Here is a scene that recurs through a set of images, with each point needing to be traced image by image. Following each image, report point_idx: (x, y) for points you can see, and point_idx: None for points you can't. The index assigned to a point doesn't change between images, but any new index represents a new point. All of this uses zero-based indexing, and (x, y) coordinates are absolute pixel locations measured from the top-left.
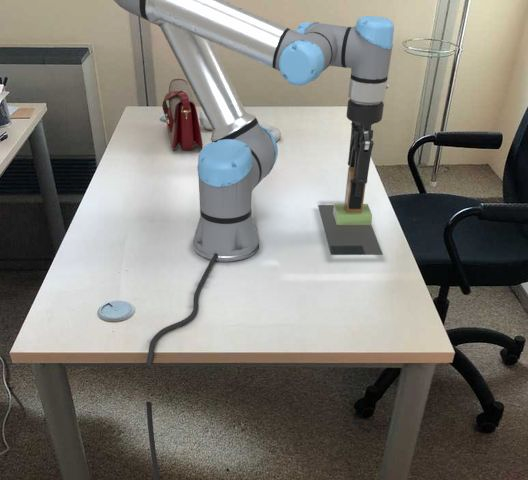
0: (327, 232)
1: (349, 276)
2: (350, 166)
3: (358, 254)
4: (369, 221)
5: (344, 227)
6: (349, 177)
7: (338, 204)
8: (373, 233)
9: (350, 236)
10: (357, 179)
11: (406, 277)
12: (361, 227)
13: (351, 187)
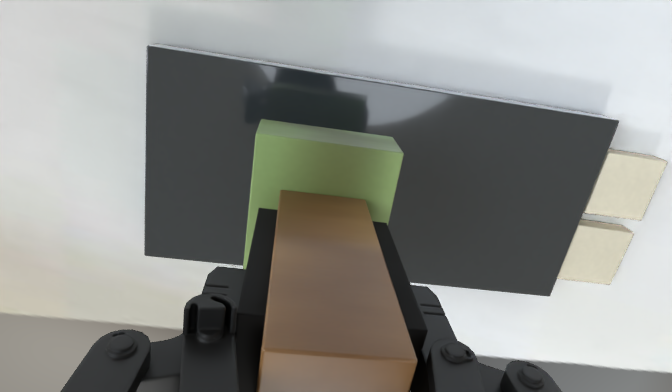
0: (357, 90)
1: (20, 87)
2: (434, 378)
3: (146, 166)
4: None
5: None
6: (313, 312)
7: (389, 174)
8: None
9: None
10: (81, 371)
11: (27, 286)
12: None
13: (250, 282)
